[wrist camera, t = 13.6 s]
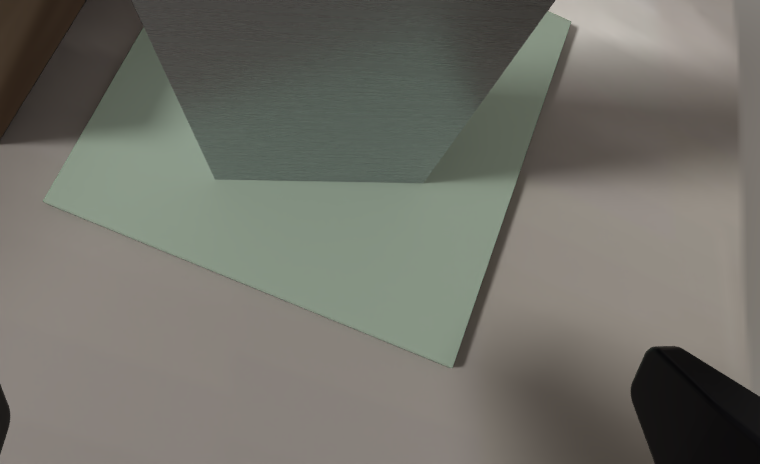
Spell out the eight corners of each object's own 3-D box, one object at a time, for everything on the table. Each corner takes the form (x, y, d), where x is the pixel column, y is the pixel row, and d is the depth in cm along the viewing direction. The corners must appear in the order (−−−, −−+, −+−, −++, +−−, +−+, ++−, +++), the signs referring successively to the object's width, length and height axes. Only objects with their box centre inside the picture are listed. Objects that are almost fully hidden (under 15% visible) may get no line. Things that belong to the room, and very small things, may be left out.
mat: (567, 26, 19) (571, 21, 19) (449, 368, 16) (452, 368, 16) (234, -121, 18) (233, -129, 18) (47, 204, 15) (42, 201, 15)
